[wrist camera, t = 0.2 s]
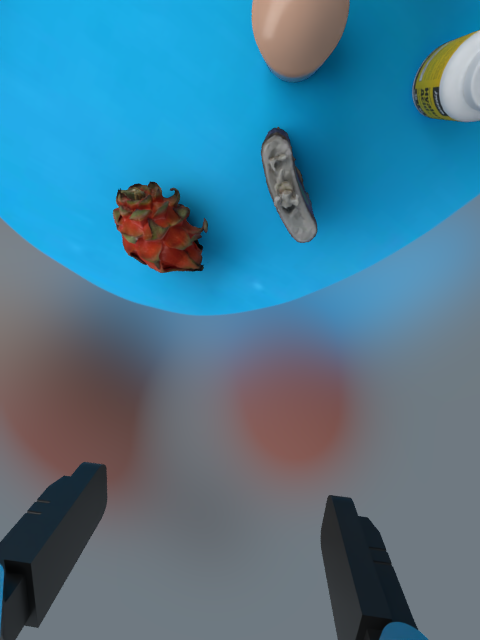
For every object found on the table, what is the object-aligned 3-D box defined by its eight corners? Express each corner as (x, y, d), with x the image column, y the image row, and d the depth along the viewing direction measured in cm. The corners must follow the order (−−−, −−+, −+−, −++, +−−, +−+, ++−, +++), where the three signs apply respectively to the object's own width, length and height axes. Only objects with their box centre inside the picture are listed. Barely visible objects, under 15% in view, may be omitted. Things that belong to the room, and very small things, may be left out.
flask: (314, 210, 35) (323, 245, 26) (289, 221, 36) (289, 258, 27) (285, 121, 30) (283, 126, 22) (257, 136, 31) (245, 146, 23)
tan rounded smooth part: (248, 28, 27) (233, -2, 20) (311, -33, 25) (321, -93, 17) (283, 98, 29) (282, 94, 22) (344, 49, 27) (365, 27, 20)
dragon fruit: (138, 167, 36) (210, 241, 42) (88, 222, 35) (168, 289, 41) (151, 150, 29) (237, 243, 34) (88, 219, 28) (186, 302, 34)
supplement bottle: (396, 95, 28) (440, 90, 20) (448, 24, 25) (523, -14, 17) (439, 132, 29) (497, 141, 21) (494, 68, 26) (584, 51, 18)
